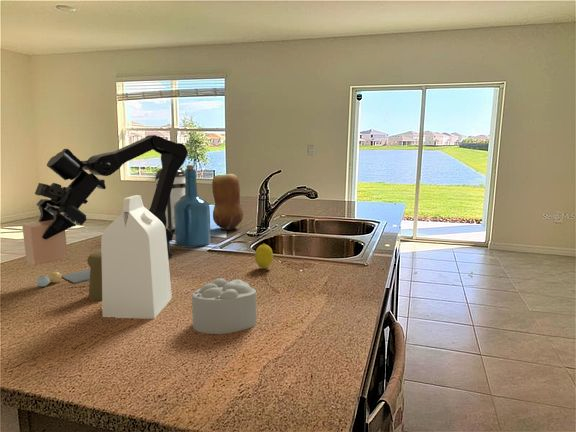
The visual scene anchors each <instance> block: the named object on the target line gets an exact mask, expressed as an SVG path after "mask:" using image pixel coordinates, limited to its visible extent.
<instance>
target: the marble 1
mask: <svg viewBox="0 0 576 432" xmlns="http://www.w3.org/2000/svg"><path fill="white" fill-rule="evenodd" d="M35 282H36V284H37V286H38V287H41V288H42V287H43V288H44V287H47V286H48V285H49V284H50V282H51V281H50V280H49V276H47V275H45V274H41V275H40V276H38V277H37V278H36V281H35Z"/></svg>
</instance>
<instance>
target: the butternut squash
mask: <svg viewBox="0 0 576 432" xmlns="http://www.w3.org/2000/svg"><path fill="white" fill-rule="evenodd" d="M211 185H212V195H213V199H214V206H213V210H212V220H213V222H214V224H215V225H216V226H217V227H218V228H221V230H226V231H227V230H228V231H231V230H235V228H237V227H238V226H239V224H240V223H242V221H243V219H244V218H243V217H244V215H245V214H244V212H243V208H242V206H241V188H240V181H239V178H238V176H237V175H236V174H234V173H226V174H217V175H215V176H213V177H212V184H211Z"/></svg>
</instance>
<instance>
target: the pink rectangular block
mask: <svg viewBox="0 0 576 432" xmlns="http://www.w3.org/2000/svg"><path fill="white" fill-rule="evenodd" d="M52 221H53V220H50V221H42V222H38V221H35V222H28V223H27V222H26V223H21V225H22V226H21V227H22V234H23V243H24V251H25V259H26V262H28V263H29V264H31V265H34V266H39V265H44V264H48V263H53V262H54V263H55V262H58V261H63V260H67V259H68V260H69V257H68V246H67V236H66V235H67V234H66V230H64V231H62V232H60V233H58V234H56V235H54V236H52V237H50V238H48V239H46V240H45V239H43V238H42V236H43V235H44V233H45V231H46V230H47V228H48V227H49V225H50V224H51V222H52Z"/></svg>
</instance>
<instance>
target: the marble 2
mask: <svg viewBox="0 0 576 432" xmlns="http://www.w3.org/2000/svg"><path fill="white" fill-rule="evenodd" d="M61 275H62V274H61V273H60V272H59V271H52V272H51V273H49V275H48V278H49V280H50V281H49V282H51V283H55V284H56V283H59V282H60V281H61V280H62V277H61Z"/></svg>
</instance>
